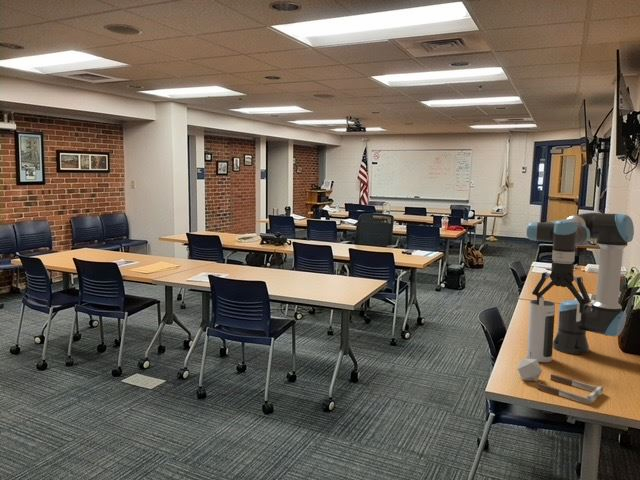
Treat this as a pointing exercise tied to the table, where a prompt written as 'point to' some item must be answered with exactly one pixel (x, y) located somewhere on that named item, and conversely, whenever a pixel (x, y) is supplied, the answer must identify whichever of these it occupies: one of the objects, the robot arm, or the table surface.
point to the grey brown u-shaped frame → (589, 400)
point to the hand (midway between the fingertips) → (559, 317)
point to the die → (529, 369)
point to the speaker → (541, 332)
